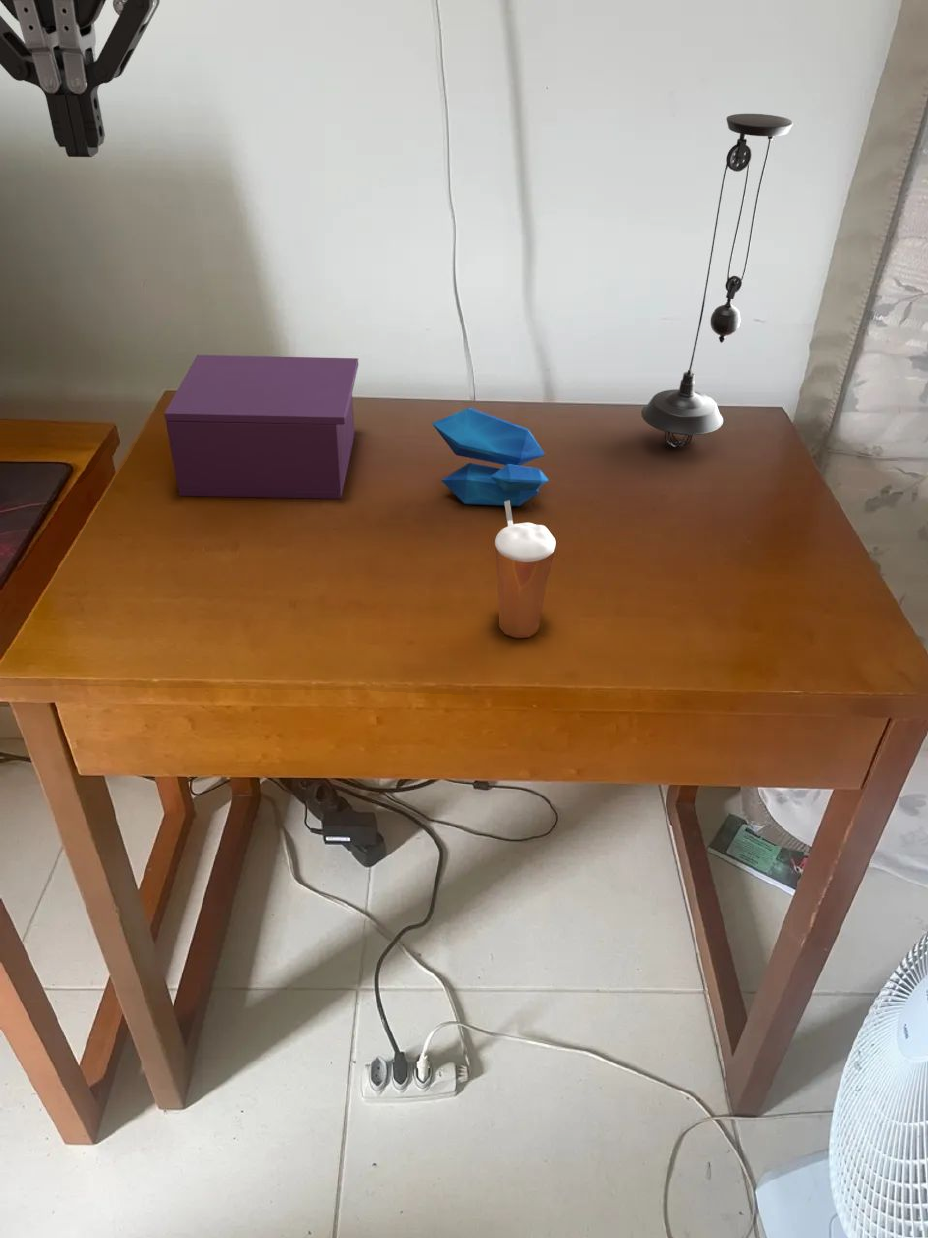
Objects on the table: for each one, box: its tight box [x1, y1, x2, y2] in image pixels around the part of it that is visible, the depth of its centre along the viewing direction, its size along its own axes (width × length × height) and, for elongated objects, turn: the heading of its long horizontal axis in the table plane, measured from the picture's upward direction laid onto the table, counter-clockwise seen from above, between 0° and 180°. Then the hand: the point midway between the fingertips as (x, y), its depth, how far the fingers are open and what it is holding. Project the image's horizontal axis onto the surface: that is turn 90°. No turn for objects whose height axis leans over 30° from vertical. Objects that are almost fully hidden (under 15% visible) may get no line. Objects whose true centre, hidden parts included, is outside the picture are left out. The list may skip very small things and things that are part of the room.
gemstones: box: [431, 407, 550, 507], centre depth 93 cm, size 7×9×12 cm
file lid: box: [164, 354, 359, 425], centre depth 95 cm, size 16×14×1 cm
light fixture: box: [640, 113, 794, 448], centre depth 95 cm, size 10×8×31 cm
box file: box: [165, 395, 355, 500], centre depth 97 cm, size 16×14×8 cm
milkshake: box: [494, 501, 557, 639], centre depth 76 cm, size 4×5×10 cm
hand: (84, 154), depth 65 cm, fingers closed
